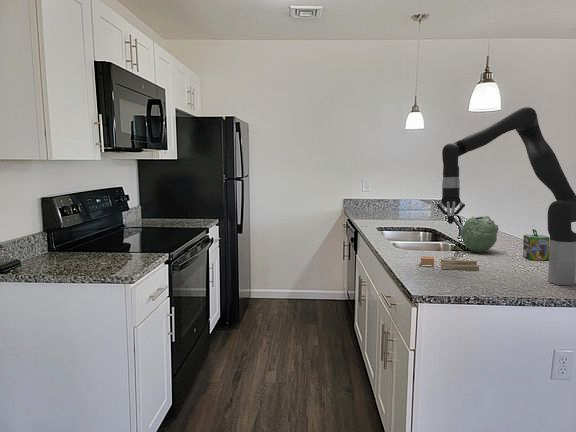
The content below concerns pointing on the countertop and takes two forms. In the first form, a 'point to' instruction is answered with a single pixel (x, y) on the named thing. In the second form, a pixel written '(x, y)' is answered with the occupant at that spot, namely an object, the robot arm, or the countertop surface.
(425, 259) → the terracotta block
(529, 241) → the chalk box
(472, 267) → the chute
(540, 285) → the countertop surface
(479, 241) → the cabbage
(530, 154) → the robot arm
